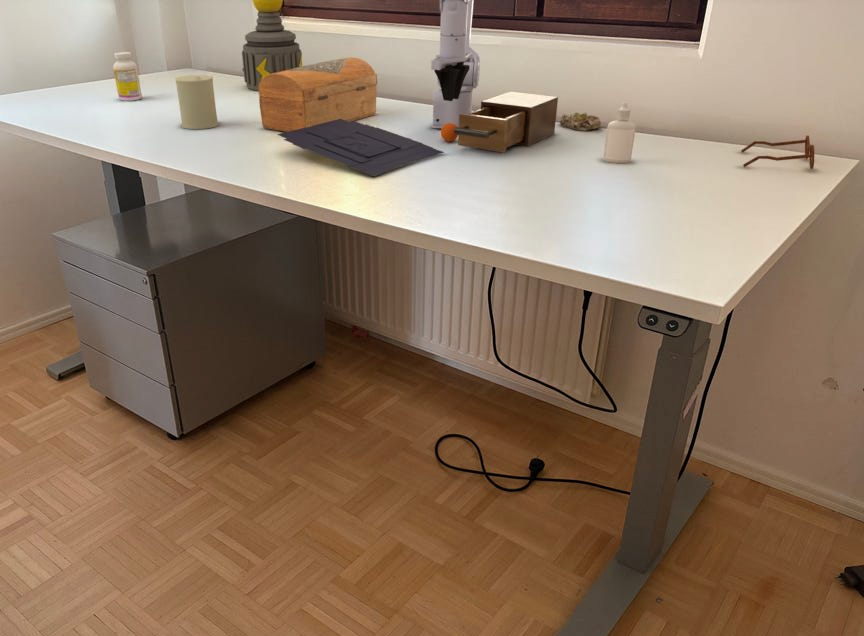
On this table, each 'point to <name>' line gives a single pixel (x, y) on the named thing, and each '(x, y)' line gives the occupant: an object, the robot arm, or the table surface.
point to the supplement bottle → (126, 77)
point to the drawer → (492, 128)
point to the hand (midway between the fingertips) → (450, 99)
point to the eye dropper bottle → (620, 138)
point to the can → (197, 101)
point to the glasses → (807, 155)
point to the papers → (360, 145)
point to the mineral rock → (580, 121)
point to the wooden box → (318, 94)
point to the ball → (448, 132)
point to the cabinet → (530, 113)
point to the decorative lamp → (268, 45)
